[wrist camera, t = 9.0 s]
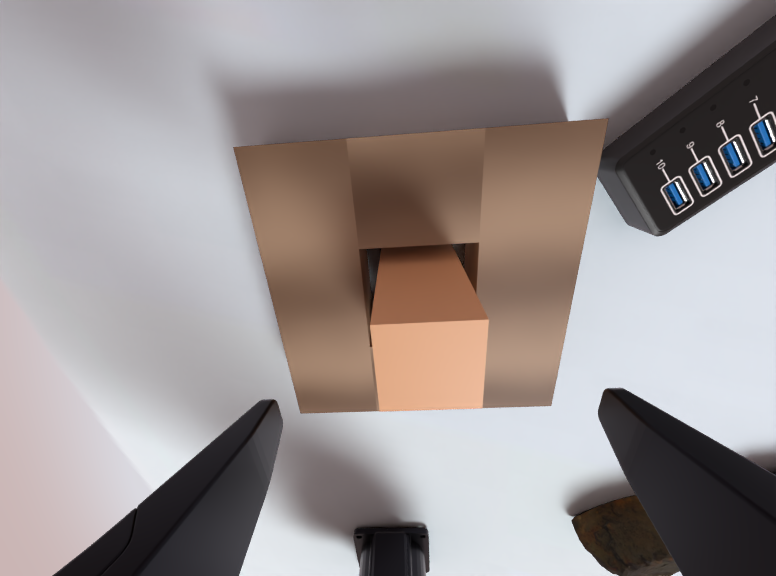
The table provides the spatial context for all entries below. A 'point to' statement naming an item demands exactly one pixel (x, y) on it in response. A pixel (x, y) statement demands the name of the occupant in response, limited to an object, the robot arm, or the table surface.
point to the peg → (427, 331)
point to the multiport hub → (698, 140)
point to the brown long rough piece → (624, 539)
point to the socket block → (419, 228)
